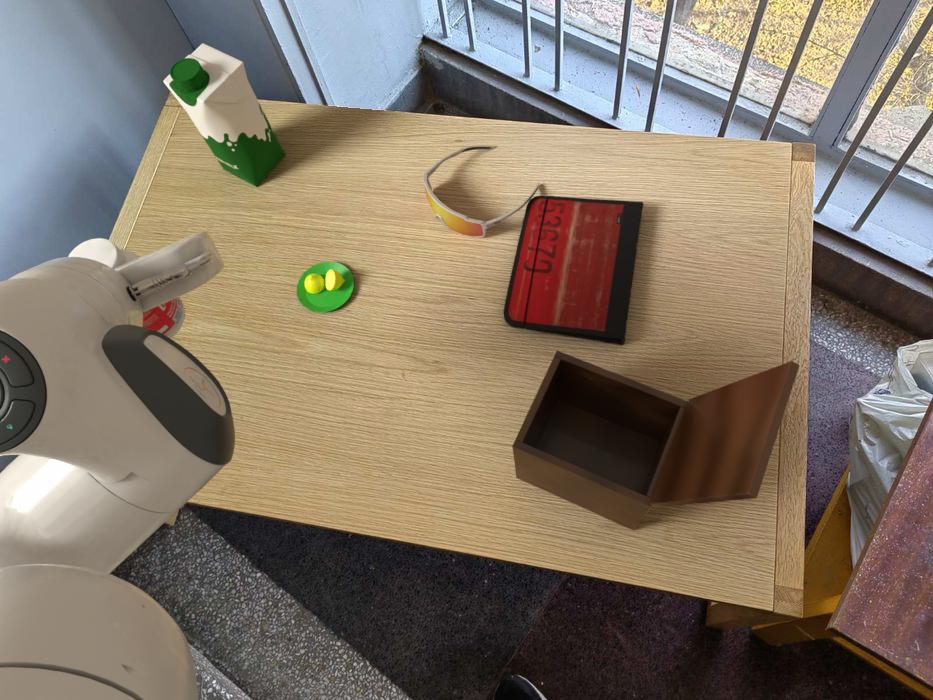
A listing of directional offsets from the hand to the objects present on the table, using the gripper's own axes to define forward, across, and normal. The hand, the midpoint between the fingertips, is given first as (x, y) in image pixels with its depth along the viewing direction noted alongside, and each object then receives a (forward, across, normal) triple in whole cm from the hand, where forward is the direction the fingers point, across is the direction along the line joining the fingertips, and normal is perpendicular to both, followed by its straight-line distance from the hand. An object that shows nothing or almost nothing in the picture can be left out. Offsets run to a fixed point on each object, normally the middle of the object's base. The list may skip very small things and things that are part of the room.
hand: (122, 284), depth 63 cm
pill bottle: (+4, 0, +5) cm, 6 cm away
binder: (+19, -46, +23) cm, 55 cm away
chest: (+2, -36, +40) cm, 54 cm away
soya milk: (+46, -12, -6) cm, 48 cm away
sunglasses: (+31, -40, +11) cm, 52 cm away
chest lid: (-18, -42, +30) cm, 55 cm away
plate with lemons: (+28, -15, +13) cm, 34 cm away
